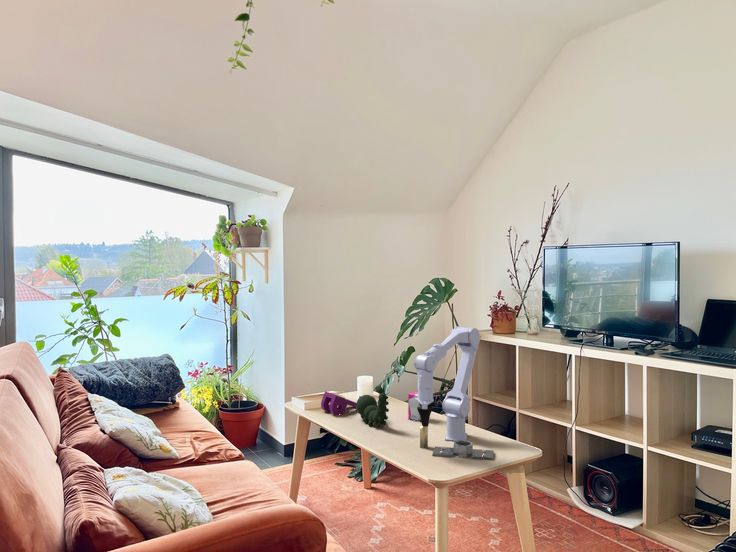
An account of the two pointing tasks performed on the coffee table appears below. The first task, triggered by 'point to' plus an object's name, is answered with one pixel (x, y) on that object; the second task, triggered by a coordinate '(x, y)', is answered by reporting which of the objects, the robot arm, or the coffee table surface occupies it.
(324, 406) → the mounting bracket
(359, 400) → the toy figurine
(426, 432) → the hinge pin
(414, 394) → the supplement box
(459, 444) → the hinge
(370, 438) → the coffee table surface
